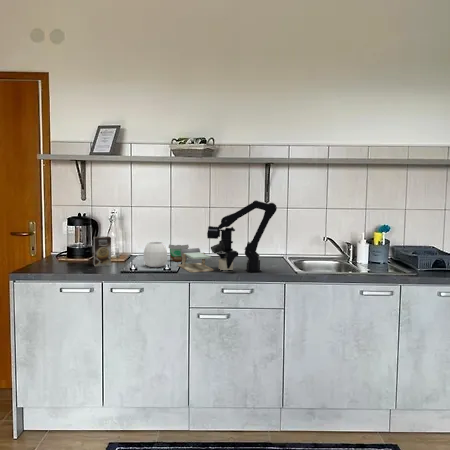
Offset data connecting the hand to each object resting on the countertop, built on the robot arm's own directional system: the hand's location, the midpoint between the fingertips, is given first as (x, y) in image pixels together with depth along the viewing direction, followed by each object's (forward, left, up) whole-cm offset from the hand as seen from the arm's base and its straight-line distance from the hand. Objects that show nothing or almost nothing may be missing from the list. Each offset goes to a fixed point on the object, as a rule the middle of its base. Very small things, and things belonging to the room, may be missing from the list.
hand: (225, 267), depth 260 cm
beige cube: (0, 0, -2) cm, 2 cm away
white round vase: (+33, -23, -2) cm, 40 cm away
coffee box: (+60, -36, -2) cm, 70 cm away
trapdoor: (+14, -10, +3) cm, 18 cm away
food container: (+15, -34, -2) cm, 37 cm away
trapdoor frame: (+14, -10, -2) cm, 17 cm away
